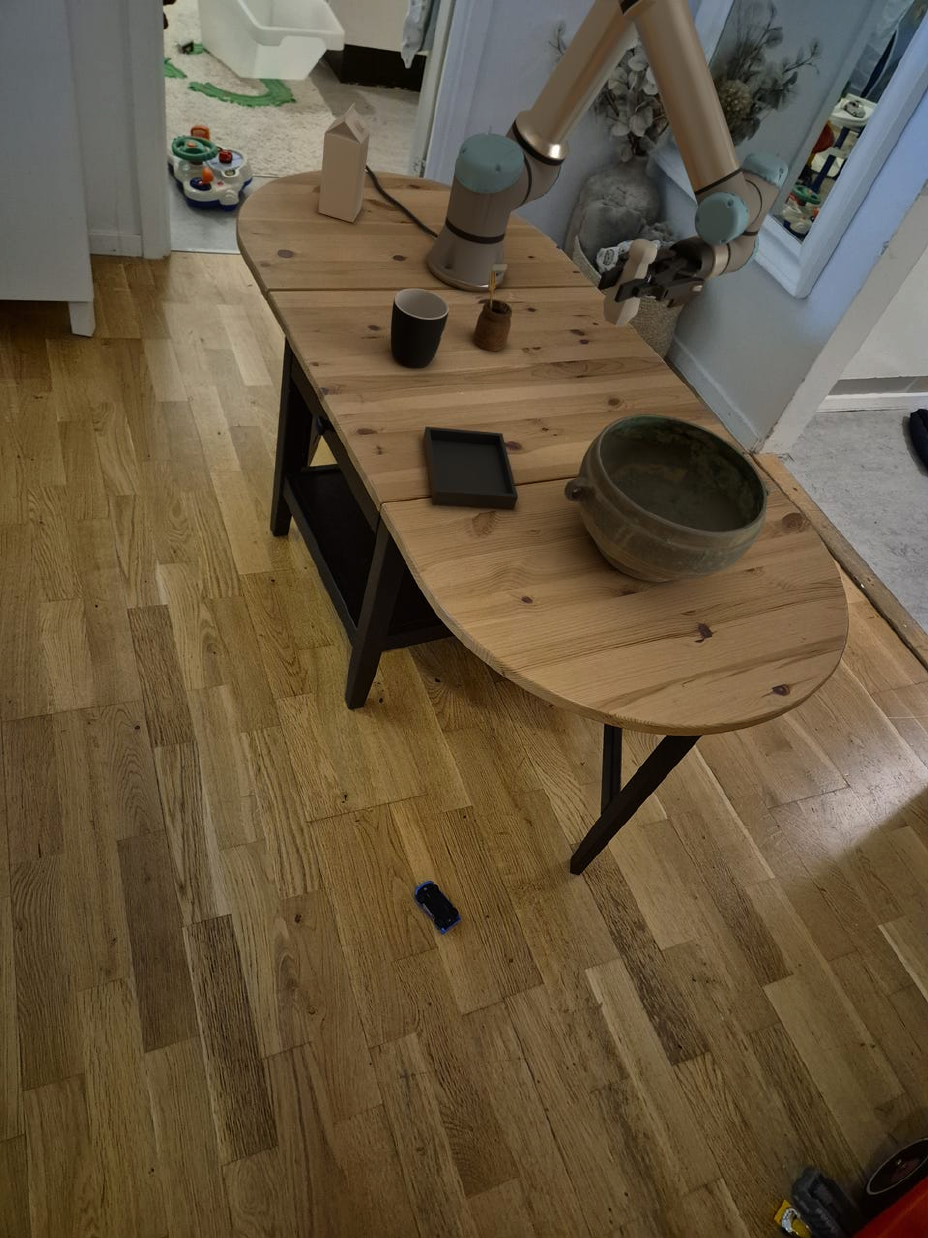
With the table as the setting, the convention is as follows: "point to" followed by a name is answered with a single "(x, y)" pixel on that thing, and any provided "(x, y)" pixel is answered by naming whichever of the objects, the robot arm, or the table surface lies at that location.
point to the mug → (417, 326)
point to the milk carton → (344, 166)
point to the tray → (469, 468)
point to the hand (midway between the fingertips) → (610, 287)
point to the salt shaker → (634, 269)
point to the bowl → (668, 498)
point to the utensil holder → (493, 321)
